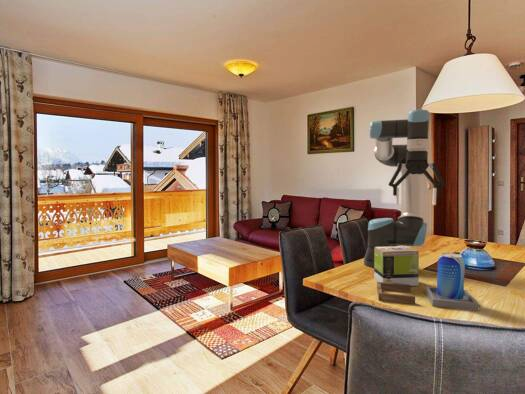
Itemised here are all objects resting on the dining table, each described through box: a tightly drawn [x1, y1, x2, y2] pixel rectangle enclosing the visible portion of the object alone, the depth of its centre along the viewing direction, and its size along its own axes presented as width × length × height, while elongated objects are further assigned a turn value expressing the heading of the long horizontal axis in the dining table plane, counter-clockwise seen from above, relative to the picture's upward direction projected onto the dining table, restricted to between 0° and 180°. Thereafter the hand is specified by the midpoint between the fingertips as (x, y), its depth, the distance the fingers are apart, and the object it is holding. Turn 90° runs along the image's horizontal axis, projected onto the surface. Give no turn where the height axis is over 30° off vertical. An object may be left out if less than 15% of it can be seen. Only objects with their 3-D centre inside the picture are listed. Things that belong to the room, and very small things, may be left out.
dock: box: [376, 281, 416, 305], centre depth 126 cm, size 13×12×2 cm
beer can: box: [436, 252, 466, 301], centre depth 120 cm, size 8×8×16 cm
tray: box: [424, 285, 480, 312], centre depth 120 cm, size 14×14×2 cm
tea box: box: [373, 245, 420, 287], centre depth 140 cm, size 15×10×15 cm
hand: (415, 204), depth 133 cm, fingers open, 13 cm apart
